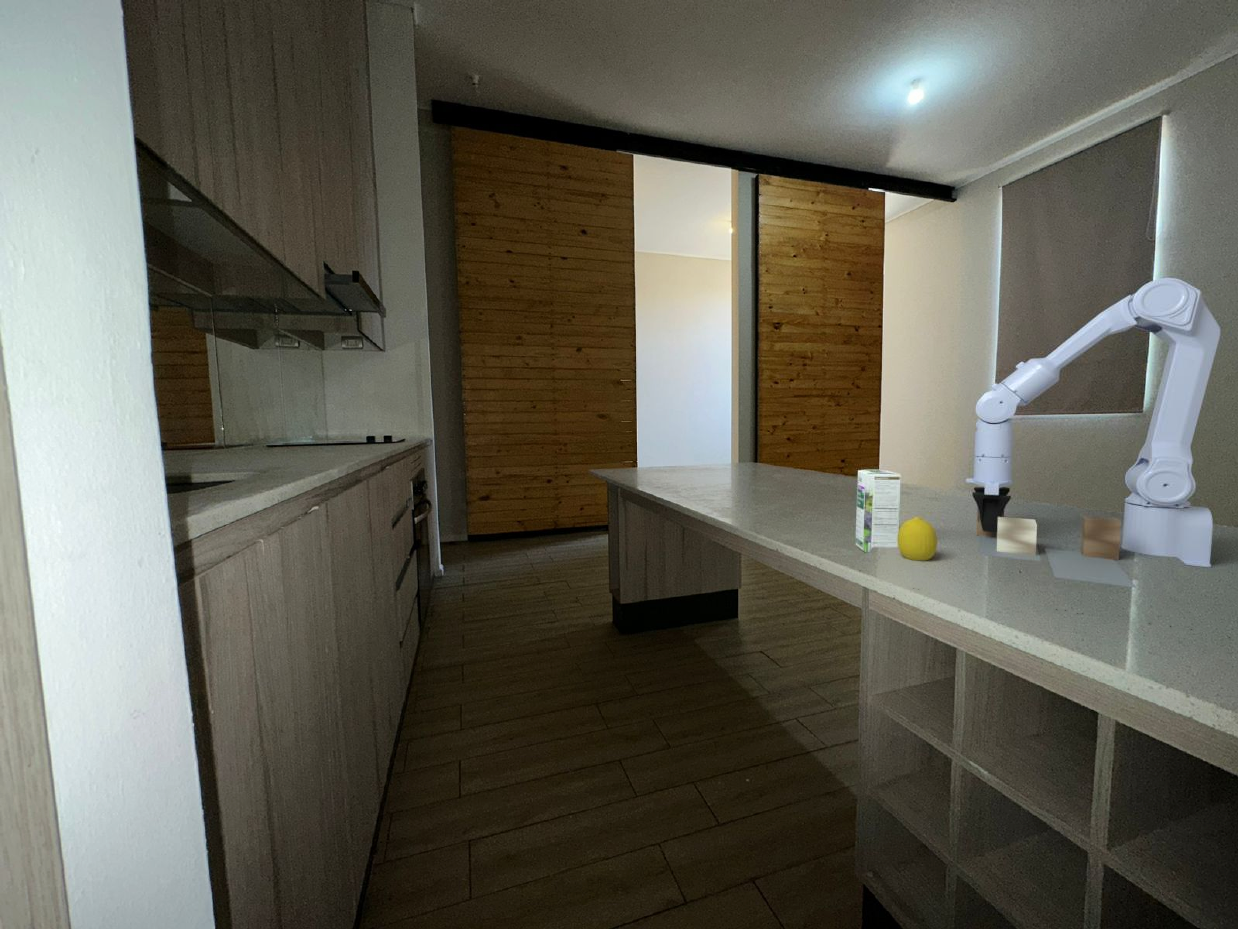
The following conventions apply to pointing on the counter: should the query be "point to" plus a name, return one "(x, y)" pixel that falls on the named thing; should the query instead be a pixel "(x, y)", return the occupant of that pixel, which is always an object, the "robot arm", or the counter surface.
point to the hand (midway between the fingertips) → (989, 527)
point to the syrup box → (877, 509)
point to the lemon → (917, 540)
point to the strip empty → (1092, 554)
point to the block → (1016, 535)
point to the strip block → (990, 544)
